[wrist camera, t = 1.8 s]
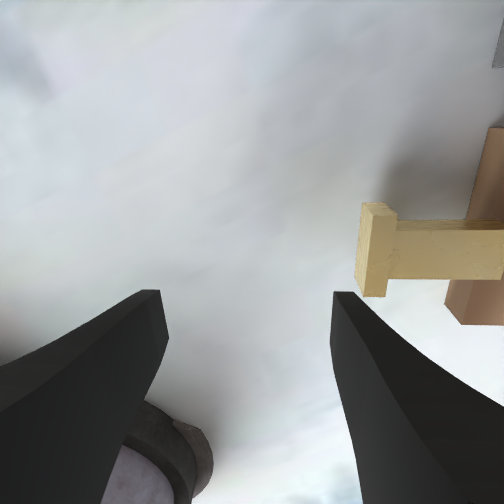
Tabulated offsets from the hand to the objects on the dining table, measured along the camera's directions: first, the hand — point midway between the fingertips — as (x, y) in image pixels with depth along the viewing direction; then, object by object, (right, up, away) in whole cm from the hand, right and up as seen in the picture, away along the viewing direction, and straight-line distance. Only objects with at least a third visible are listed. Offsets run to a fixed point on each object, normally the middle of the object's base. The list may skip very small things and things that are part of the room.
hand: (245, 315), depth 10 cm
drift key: (+9, +3, +5) cm, 10 cm away
